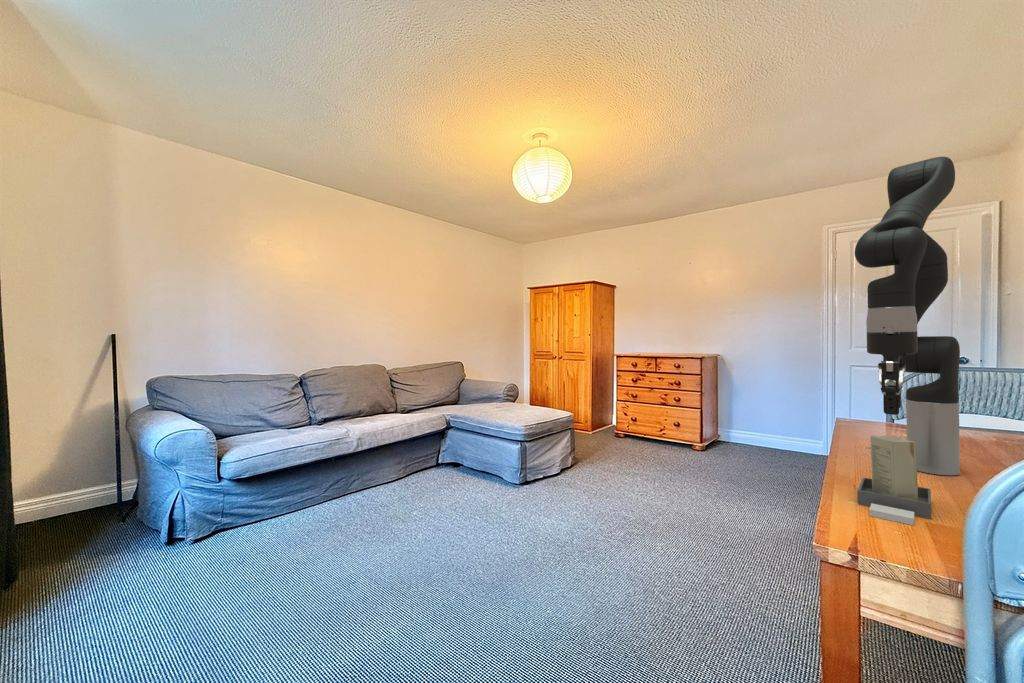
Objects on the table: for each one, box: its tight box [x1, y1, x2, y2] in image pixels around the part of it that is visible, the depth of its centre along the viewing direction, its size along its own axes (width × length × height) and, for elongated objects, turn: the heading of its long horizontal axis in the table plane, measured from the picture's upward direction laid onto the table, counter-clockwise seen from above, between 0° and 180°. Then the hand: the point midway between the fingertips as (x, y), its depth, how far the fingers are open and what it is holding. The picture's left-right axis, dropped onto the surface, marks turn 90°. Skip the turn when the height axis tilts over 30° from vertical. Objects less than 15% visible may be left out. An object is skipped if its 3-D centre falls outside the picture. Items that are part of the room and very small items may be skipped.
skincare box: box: [869, 435, 919, 501], centre depth 83 cm, size 6×4×12 cm
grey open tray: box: [857, 477, 932, 526], centre depth 81 cm, size 16×10×3 cm, turn 135°
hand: (892, 410), depth 83 cm, fingers open, 8 cm apart
